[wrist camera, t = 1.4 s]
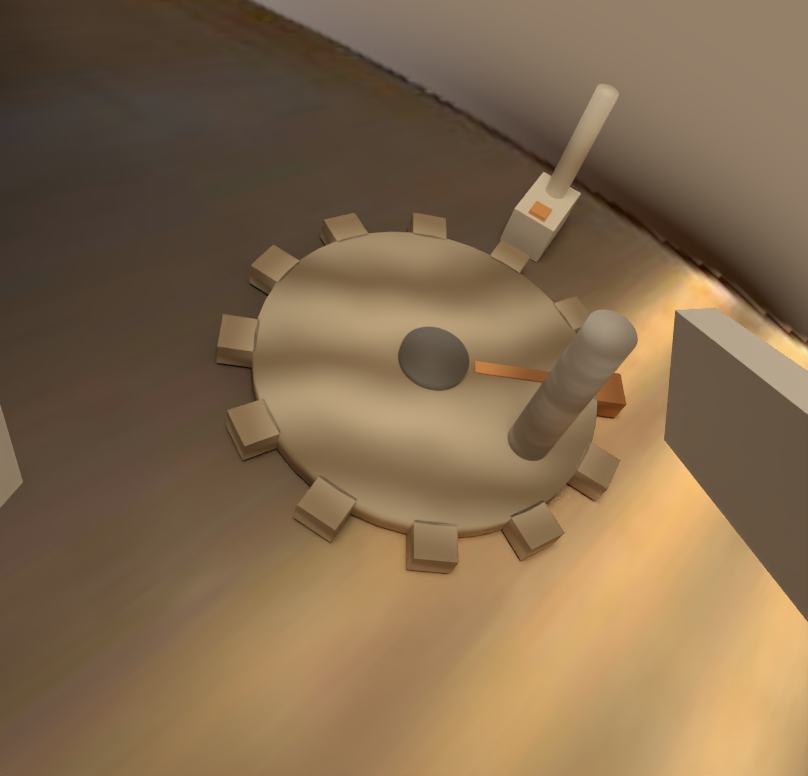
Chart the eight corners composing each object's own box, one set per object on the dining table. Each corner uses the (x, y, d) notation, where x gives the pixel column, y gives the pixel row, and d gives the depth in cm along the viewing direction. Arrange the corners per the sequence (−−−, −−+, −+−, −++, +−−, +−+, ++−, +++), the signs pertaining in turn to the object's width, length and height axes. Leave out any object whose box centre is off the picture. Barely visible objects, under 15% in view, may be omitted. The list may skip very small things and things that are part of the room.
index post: (536, 262, 51) (609, 131, 42) (499, 240, 52) (563, 105, 43) (563, 224, 54) (636, 94, 45) (527, 203, 55) (593, 70, 46)
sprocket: (196, 232, 45) (198, 63, 36) (535, 226, 53) (609, 86, 44) (253, 608, 34) (277, 503, 25) (675, 532, 42) (815, 430, 32)
